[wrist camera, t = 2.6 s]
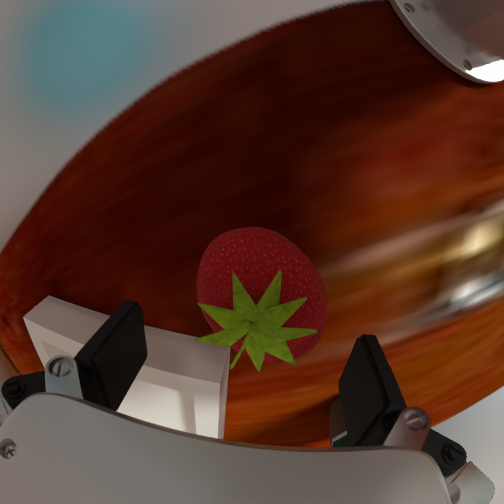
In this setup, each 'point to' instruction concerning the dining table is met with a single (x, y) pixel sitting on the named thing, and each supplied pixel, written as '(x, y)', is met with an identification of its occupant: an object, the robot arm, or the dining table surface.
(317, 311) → the strawberry
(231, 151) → the dining table surface
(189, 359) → the tray
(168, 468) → the robot arm
